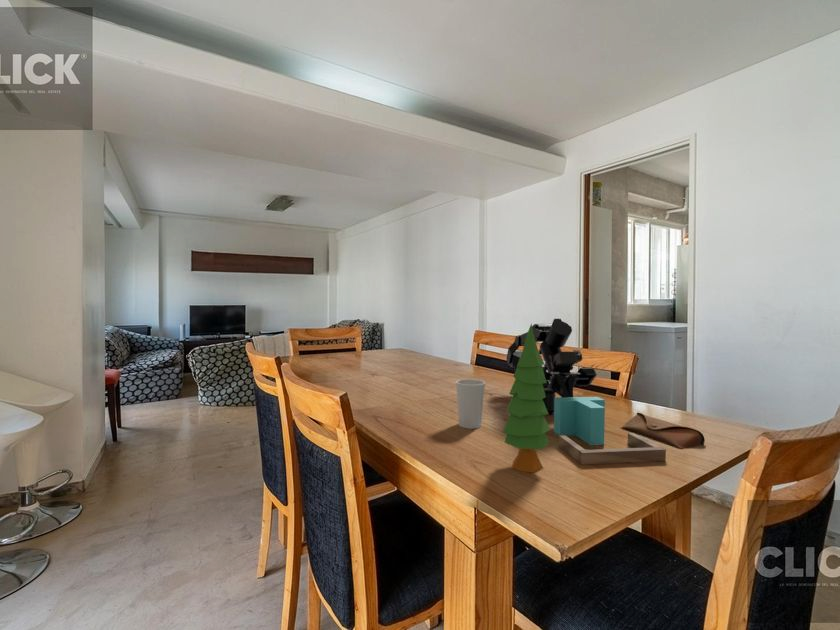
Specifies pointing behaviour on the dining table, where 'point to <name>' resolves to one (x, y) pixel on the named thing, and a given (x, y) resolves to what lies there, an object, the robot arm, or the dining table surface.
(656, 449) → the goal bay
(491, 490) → the dining table surface
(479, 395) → the cup
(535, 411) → the decorative tree
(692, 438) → the sunglasses case
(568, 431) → the t block
